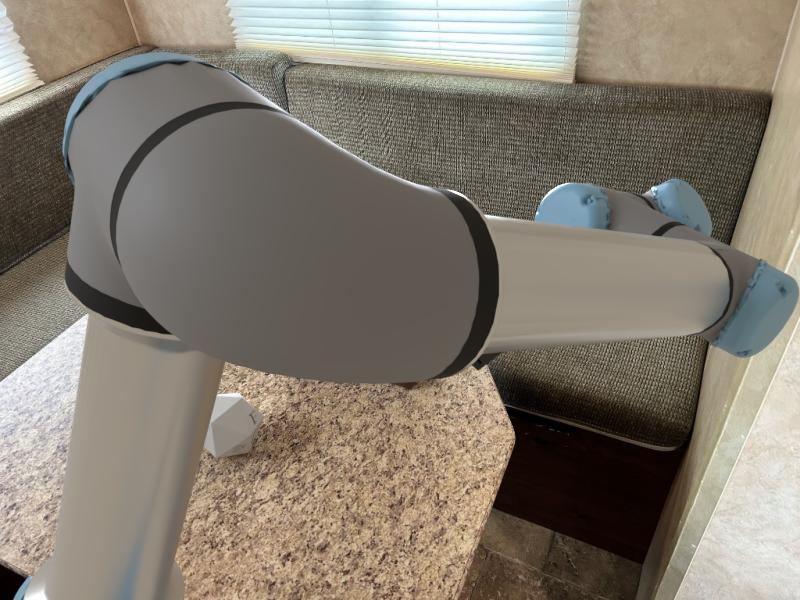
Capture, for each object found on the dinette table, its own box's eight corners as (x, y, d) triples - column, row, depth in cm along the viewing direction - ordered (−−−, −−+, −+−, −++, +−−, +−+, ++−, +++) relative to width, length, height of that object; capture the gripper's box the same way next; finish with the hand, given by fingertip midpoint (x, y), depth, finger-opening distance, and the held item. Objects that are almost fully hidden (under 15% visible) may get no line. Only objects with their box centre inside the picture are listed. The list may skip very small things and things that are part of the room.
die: (227, 484, 81) (258, 431, 78) (170, 450, 81) (198, 395, 77) (252, 449, 89) (281, 399, 86) (200, 418, 89) (227, 366, 85)
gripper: (571, 362, 64) (445, 413, 80) (615, 238, 81) (504, 299, 97) (525, 313, 63) (406, 375, 78) (580, 197, 80) (473, 266, 95)
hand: (460, 333), depth 87 cm, fingers open, 13 cm apart
